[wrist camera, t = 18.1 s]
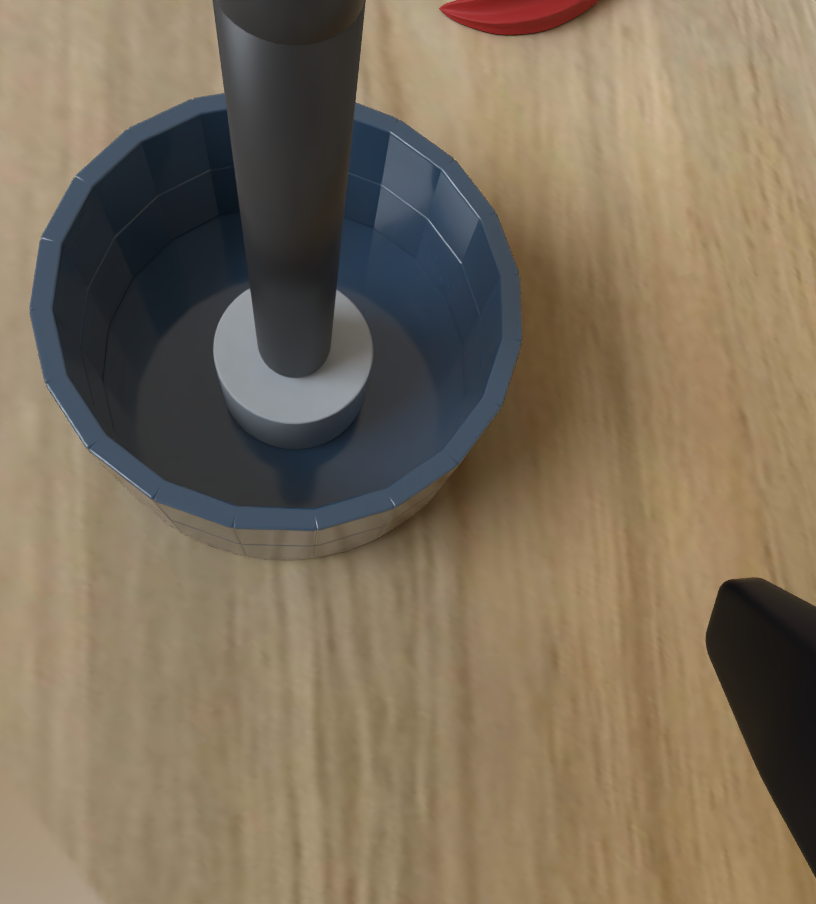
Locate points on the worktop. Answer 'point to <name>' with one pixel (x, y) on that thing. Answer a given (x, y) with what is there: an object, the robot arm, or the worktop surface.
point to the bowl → (224, 279)
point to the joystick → (291, 219)
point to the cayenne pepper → (515, 14)
